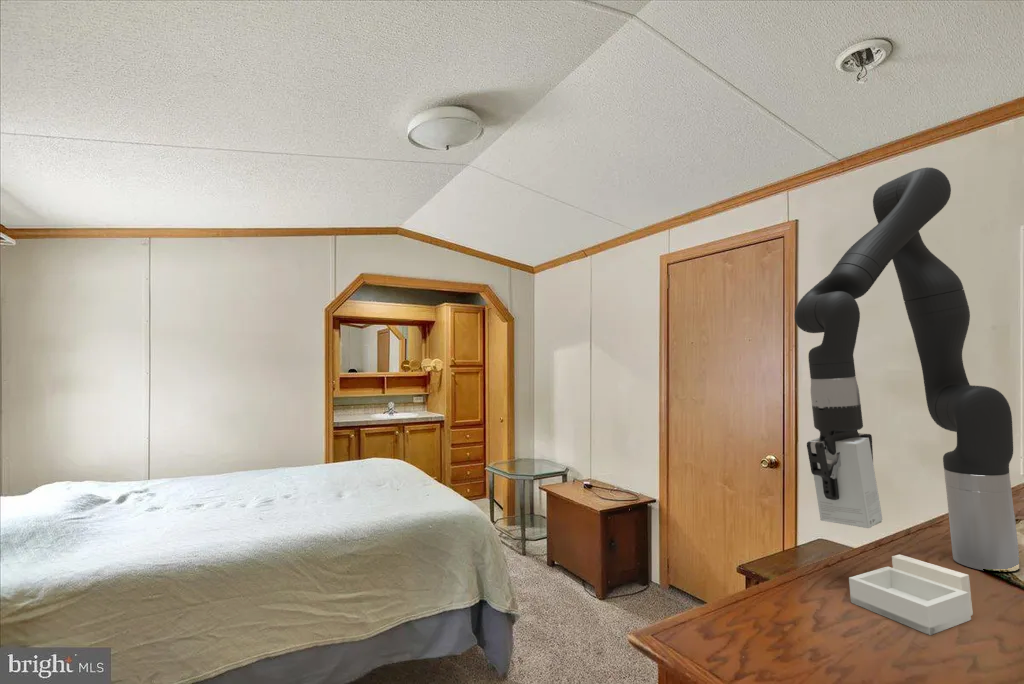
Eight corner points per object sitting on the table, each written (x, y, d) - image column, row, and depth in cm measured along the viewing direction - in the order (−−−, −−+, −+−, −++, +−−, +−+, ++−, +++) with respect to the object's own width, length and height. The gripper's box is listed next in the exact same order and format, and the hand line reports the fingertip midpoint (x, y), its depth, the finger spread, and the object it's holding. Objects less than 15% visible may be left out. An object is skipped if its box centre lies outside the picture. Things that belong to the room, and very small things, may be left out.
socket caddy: (890, 590, 88) (887, 566, 88) (971, 619, 77) (968, 592, 77) (851, 602, 84) (848, 577, 84) (930, 635, 73) (927, 606, 73)
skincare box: (883, 522, 90) (873, 437, 91) (868, 530, 87) (858, 442, 88) (832, 513, 97) (823, 434, 98) (816, 520, 94) (807, 438, 95)
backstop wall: (902, 590, 88) (899, 554, 88) (972, 615, 78) (968, 574, 79) (895, 592, 87) (891, 556, 87) (964, 618, 77) (960, 577, 78)
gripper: (843, 398, 99) (852, 485, 98) (788, 405, 94) (798, 498, 93) (883, 399, 92) (894, 493, 91) (826, 407, 87) (837, 507, 86)
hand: (845, 495), depth 92 cm, fingers closed on skincare box, 6 cm apart
